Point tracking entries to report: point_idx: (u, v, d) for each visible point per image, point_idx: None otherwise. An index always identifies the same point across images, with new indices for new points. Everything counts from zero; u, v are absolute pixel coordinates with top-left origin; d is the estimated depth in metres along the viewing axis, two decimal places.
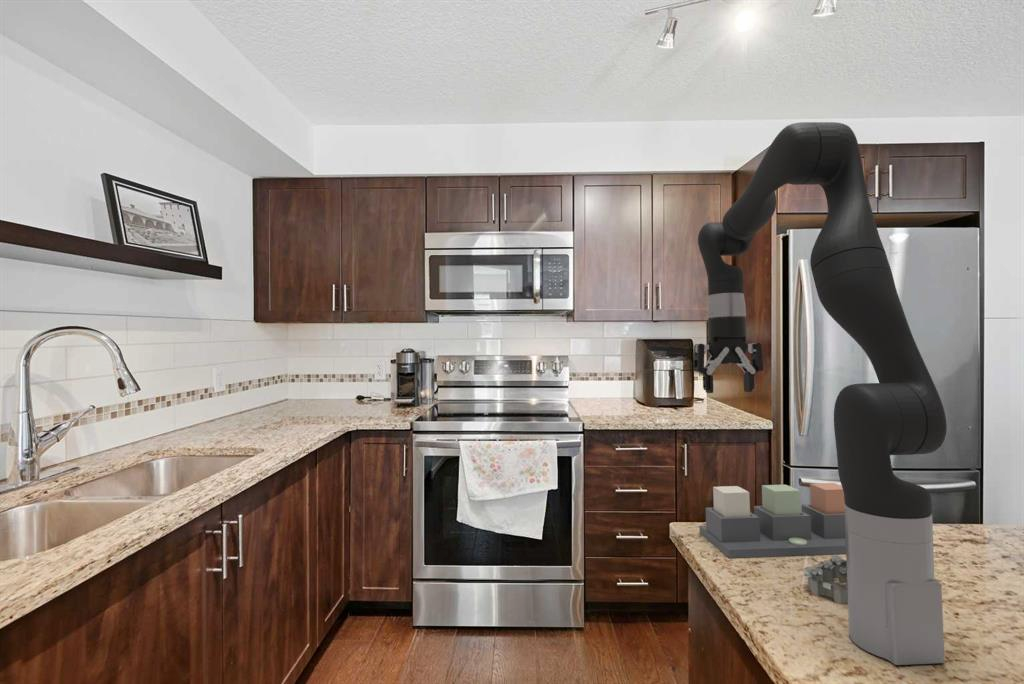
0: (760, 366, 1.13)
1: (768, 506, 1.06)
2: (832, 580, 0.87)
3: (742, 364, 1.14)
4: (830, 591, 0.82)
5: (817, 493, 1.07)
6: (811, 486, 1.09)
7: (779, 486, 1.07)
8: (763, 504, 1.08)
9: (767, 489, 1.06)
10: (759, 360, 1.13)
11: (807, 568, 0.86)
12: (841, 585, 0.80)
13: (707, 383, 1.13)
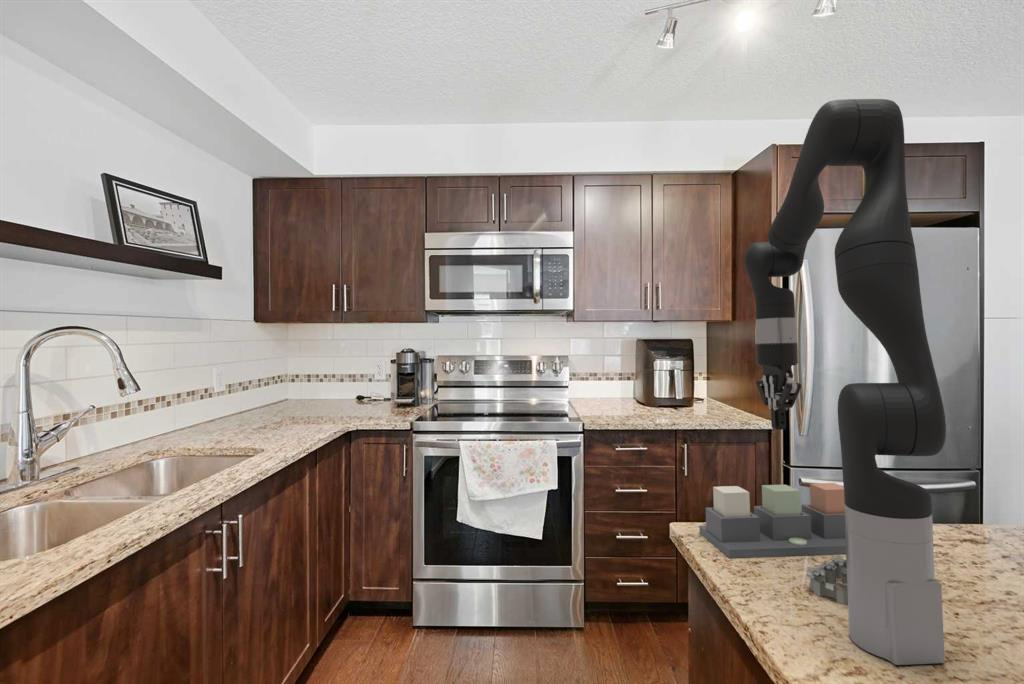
0: None
1: (768, 506, 1.06)
2: (834, 581, 0.87)
3: None
4: (833, 592, 0.82)
5: (817, 493, 1.07)
6: (811, 486, 1.09)
7: (779, 486, 1.07)
8: (763, 504, 1.08)
9: (767, 489, 1.06)
10: None
11: (809, 569, 0.86)
12: (844, 586, 0.80)
13: None
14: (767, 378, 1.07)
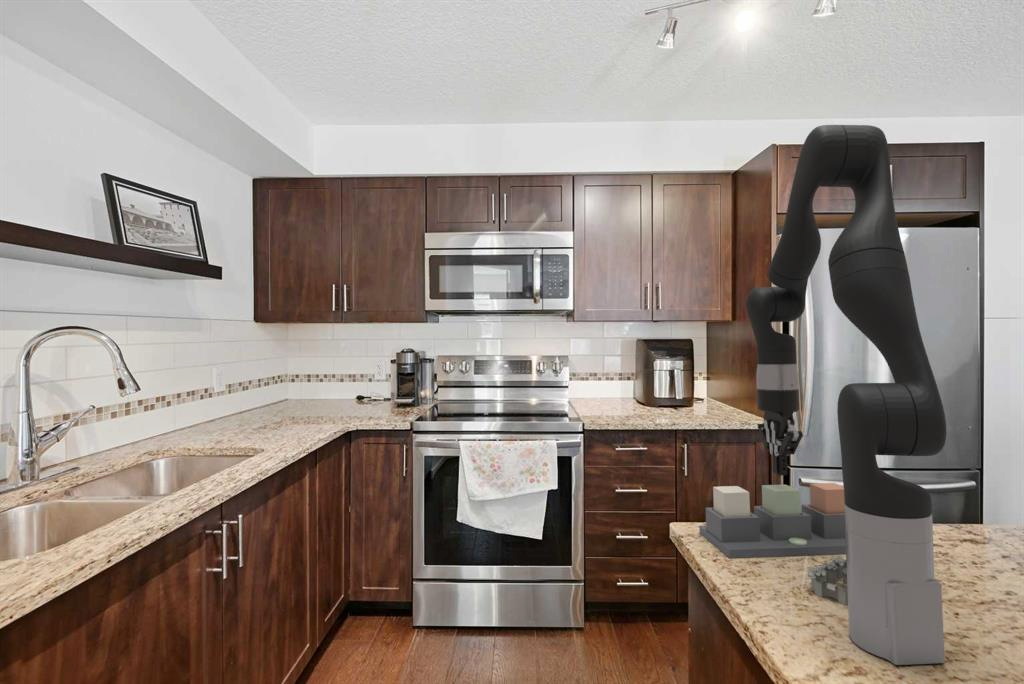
0: None
1: (768, 506, 1.06)
2: (835, 581, 0.87)
3: (780, 440, 1.07)
4: (834, 592, 0.82)
5: (817, 493, 1.07)
6: (811, 486, 1.09)
7: (779, 486, 1.07)
8: (763, 504, 1.08)
9: (767, 489, 1.06)
10: None
11: (811, 569, 0.85)
12: (846, 586, 0.80)
13: None
14: (768, 423, 1.07)
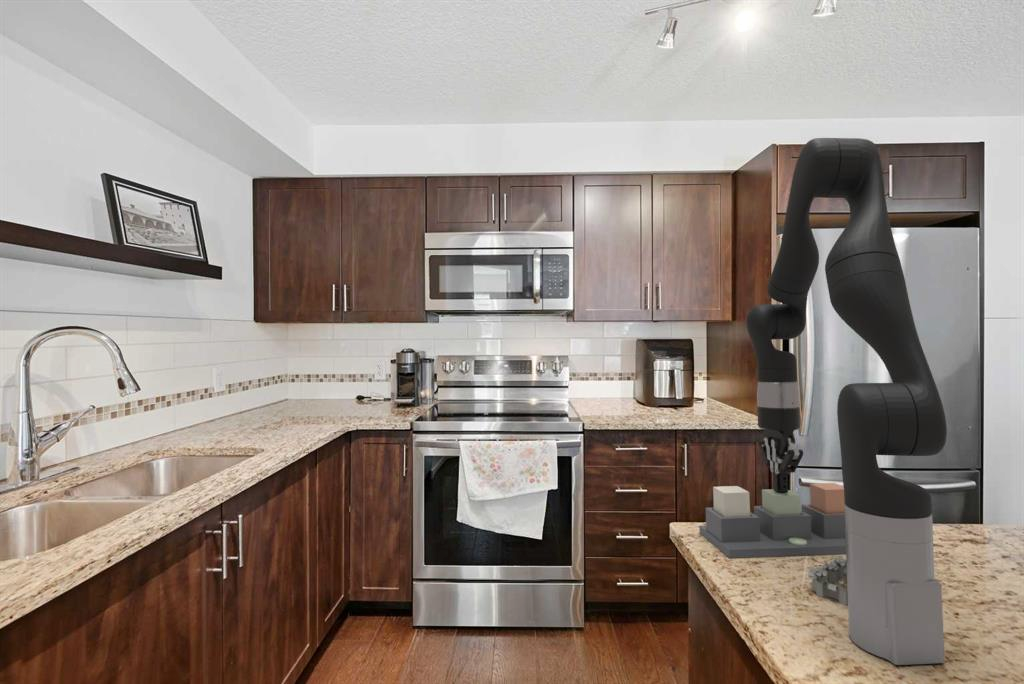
0: None
1: (768, 510, 1.06)
2: (836, 581, 0.86)
3: None
4: (835, 593, 0.81)
5: (817, 493, 1.07)
6: (811, 486, 1.09)
7: None
8: (763, 508, 1.08)
9: (767, 493, 1.06)
10: None
11: (811, 569, 0.85)
12: (846, 586, 0.79)
13: None
14: (769, 441, 1.07)
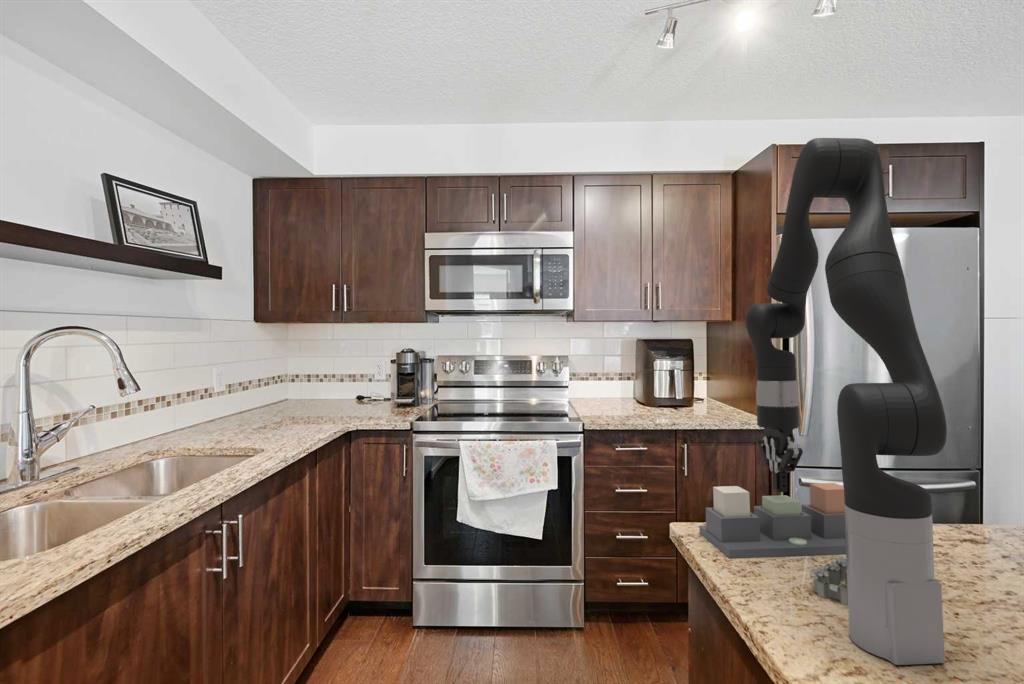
0: None
1: None
2: (838, 582, 0.86)
3: None
4: (837, 593, 0.81)
5: (817, 493, 1.07)
6: (811, 486, 1.09)
7: (779, 497, 1.07)
8: None
9: (767, 500, 1.06)
10: None
11: (813, 570, 0.85)
12: None
13: None
14: (768, 440, 1.07)
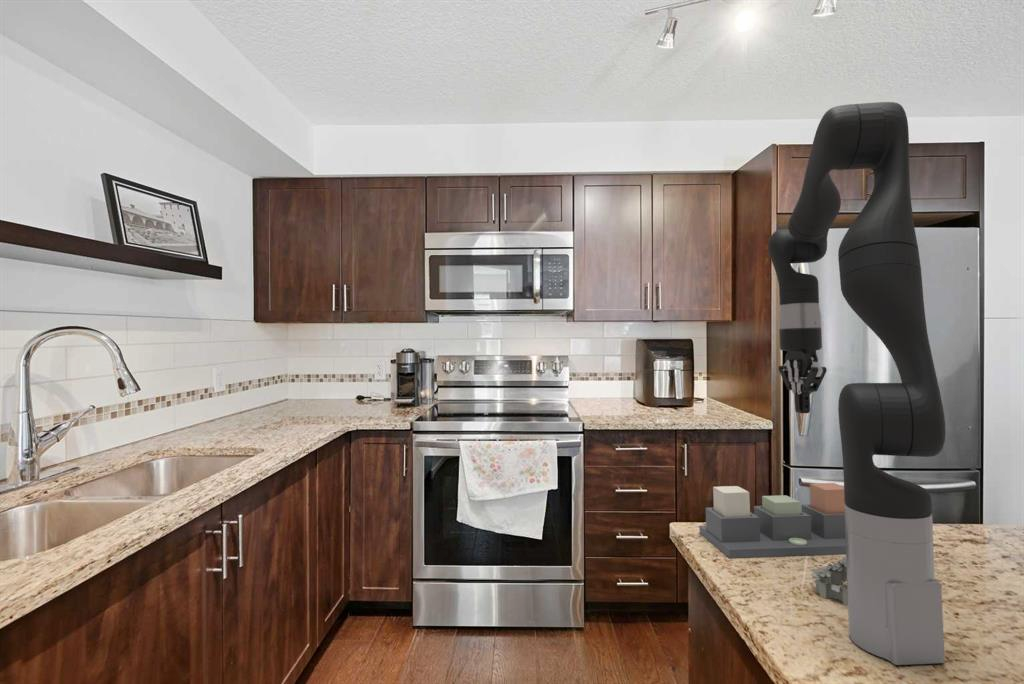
0: None
1: None
2: (840, 582, 0.86)
3: None
4: (839, 594, 0.81)
5: (817, 493, 1.07)
6: (811, 486, 1.09)
7: (779, 497, 1.07)
8: None
9: (767, 500, 1.06)
10: None
11: (815, 570, 0.85)
12: None
13: None
14: (791, 363, 1.09)
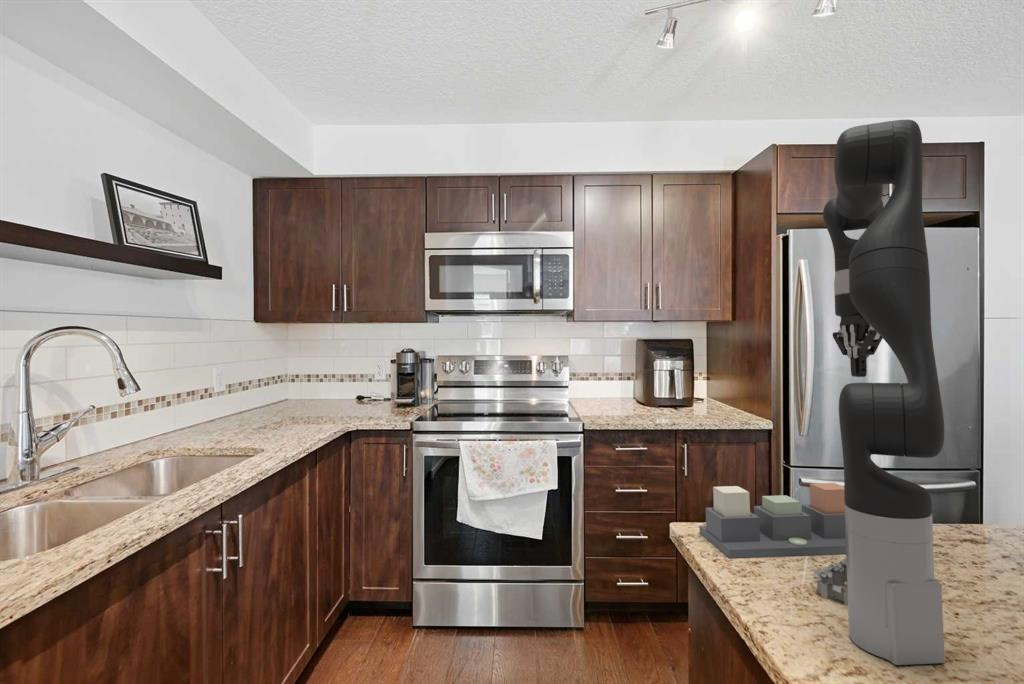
0: None
1: None
2: (842, 583, 0.86)
3: None
4: (840, 594, 0.81)
5: (817, 493, 1.07)
6: (811, 486, 1.09)
7: (779, 497, 1.07)
8: None
9: (767, 500, 1.06)
10: None
11: (816, 571, 0.85)
12: None
13: None
14: (847, 328, 1.11)
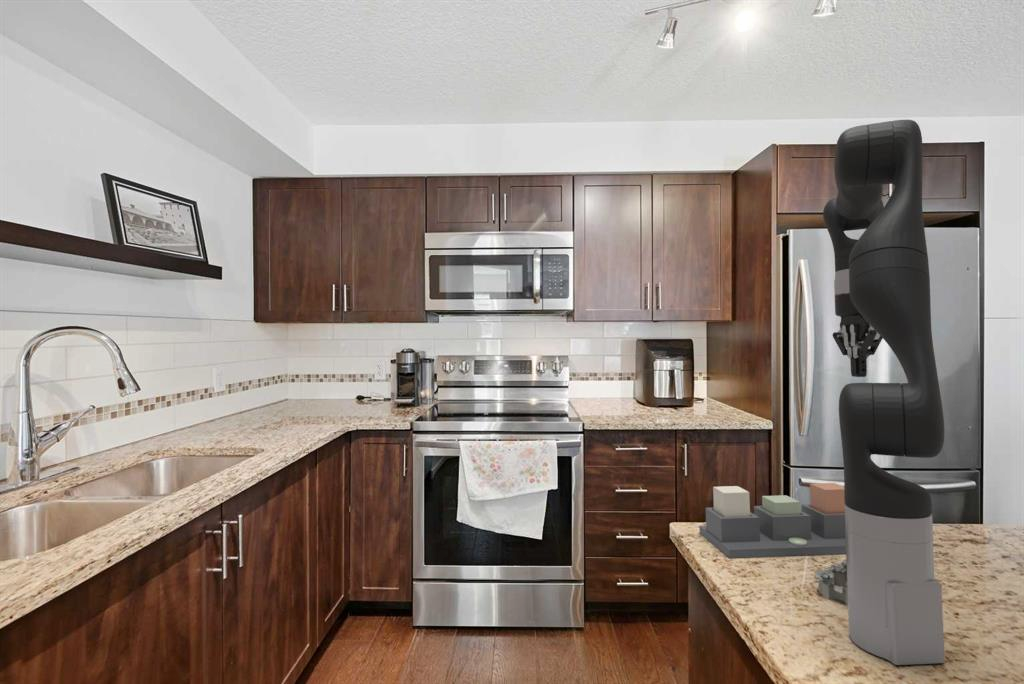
0: None
1: None
2: (844, 583, 0.86)
3: None
4: (842, 595, 0.81)
5: (817, 493, 1.07)
6: (811, 486, 1.09)
7: (779, 497, 1.07)
8: None
9: (767, 500, 1.06)
10: None
11: (818, 571, 0.85)
12: None
13: None
14: (847, 328, 1.11)
